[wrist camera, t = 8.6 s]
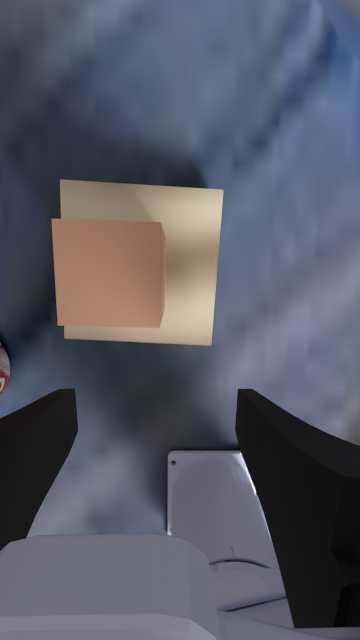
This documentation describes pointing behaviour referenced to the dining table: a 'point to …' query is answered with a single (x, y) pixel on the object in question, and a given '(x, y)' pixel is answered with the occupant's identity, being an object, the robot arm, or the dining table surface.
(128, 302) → the terracotta block
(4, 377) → the soda can
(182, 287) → the birch base
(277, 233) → the dining table surface
